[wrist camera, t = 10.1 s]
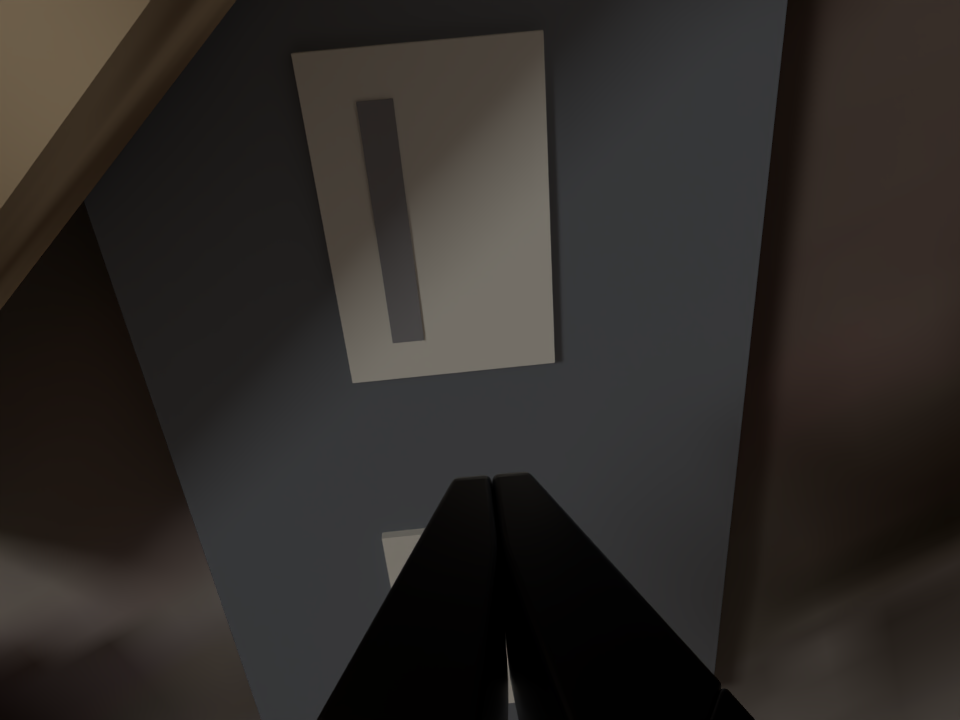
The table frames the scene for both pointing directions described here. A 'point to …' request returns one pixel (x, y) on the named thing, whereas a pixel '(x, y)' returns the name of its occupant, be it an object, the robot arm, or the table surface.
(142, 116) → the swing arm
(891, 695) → the table surface
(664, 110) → the label board
